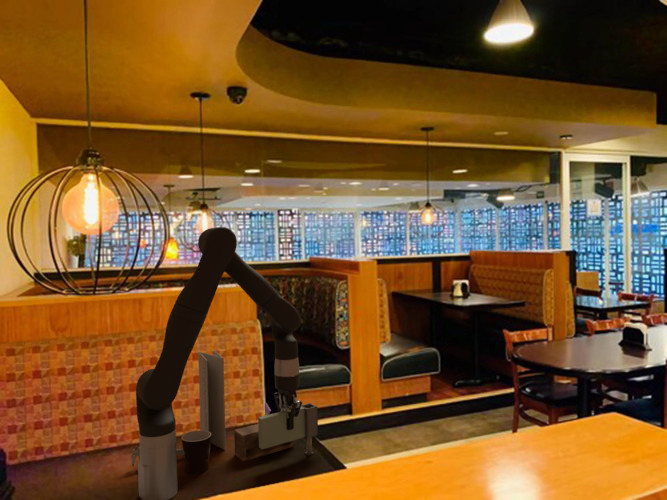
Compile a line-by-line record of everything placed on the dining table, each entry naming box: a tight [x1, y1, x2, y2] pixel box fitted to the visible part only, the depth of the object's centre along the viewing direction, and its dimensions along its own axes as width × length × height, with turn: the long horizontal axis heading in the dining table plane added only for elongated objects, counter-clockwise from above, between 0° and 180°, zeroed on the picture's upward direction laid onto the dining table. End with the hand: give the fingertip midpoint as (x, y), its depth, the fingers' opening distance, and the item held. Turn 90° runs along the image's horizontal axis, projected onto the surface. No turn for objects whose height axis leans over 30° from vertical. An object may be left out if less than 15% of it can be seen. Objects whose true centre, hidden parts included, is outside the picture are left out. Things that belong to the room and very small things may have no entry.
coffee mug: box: [180, 430, 212, 475], centre depth 153 cm, size 12×9×10 cm
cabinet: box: [233, 423, 315, 462], centre depth 160 cm, size 20×15×11 cm
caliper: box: [130, 445, 184, 467], centre depth 157 cm, size 20×1×6 cm, turn 117°
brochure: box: [197, 349, 227, 451], centre depth 170 cm, size 14×6×30 cm, turn 25°
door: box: [257, 402, 319, 449], centre depth 156 cm, size 19×4×9 cm, turn 126°
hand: (288, 428), depth 156 cm, fingers closed on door, 2 cm apart
